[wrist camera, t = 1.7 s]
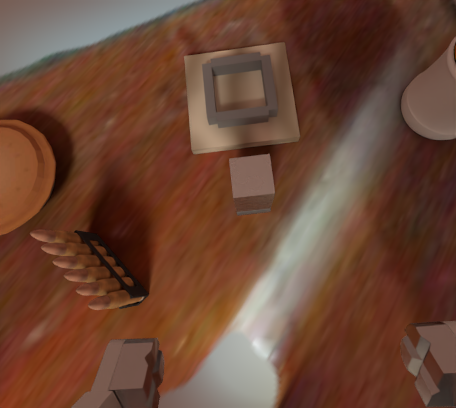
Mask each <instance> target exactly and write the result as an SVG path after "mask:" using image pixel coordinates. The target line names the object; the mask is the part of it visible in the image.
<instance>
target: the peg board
mask: <svg viewBox="0 0 456 408" xmlns="http://www.w3.org/2000/svg"><path fill="white" fill-rule="evenodd" d="M184 59H185V72H186V84H187V97H188V109H189V122H190V134H191V147H192V152H193V153H194V154H200V153H208V152H216V151H224V150H232V149H240V148H248V147H256V146H264V145H273V144H281V143H289V142H297V141H299V138H300V133H299V127H298V120H297V114H296V108H295V102H294V96H293V90H292V83H291V77H290V71H289V65H288V59H287V53H286V46H285V42H282V43H275V44H268V45H260V46H253V47H246V48H239V49H232V50H225V51H218V52H211V53H204V54H196V55H189V56H184Z"/></svg>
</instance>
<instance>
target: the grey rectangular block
mask: <svg viewBox="0 0 456 408" xmlns="http://www.w3.org/2000/svg"><path fill="white" fill-rule="evenodd" d="M229 162H230V171H231V181H232V190H233V199H234V203H235V206H236V211H237V215H238V216H240V215H249V214H257V213H266V212H270V210H271V205H272V202H273V199H274V195H275V189H274V181H273V174H272V167H271V160H270V154H264V155H256V156H248V157H240V158H232V159H229Z"/></svg>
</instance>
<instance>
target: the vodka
mask: <svg viewBox="0 0 456 408" xmlns="http://www.w3.org/2000/svg"><path fill="white" fill-rule="evenodd" d="M401 112H402V115H403V118H404V120H405V122H406V123H407V125H408V126H409V127H410V128H411V129H412V130H413V131H415V132H416V133H417V134H419V135H421V136H423V137H426V138H429V139H433V140H450V139H454V138H456V36H455V37H454V39H453V40H452V41H451V43H450V45H449V47H448V48H447V49H446V51H445V52H444V53H443V54H442V55H441V56H440V57H439V58H438V59H437V60H436V61H435V62H434V63H433V64H432V65H431V66H430V67H429V68H428V69H426V70H425V71H424V72H422V73H420V74H419V75H418V76H416V77H415V78H414V79H413V80H412V81H411V83H410V84H409V85H408V86H407V87H406V89H405V91H404V93H403V95H402V99H401Z"/></svg>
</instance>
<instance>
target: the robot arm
mask: <svg viewBox="0 0 456 408" xmlns="http://www.w3.org/2000/svg"><path fill="white" fill-rule="evenodd" d="M405 332H406V333H407V336H406V337H404V338H403V339H402V341H401V344H400V350H401V356H402V359H403V362H404V364H405V366H406V368H407V370H408V371H410V372H411V373H412V374H413V375H415V376H416V379H415V386H416V388H417V390H418V392H419V394H420V395H421V397H422V399H423V401H424V403H425V405H426V407H444V406H456V321H445V322H440V321H438V322H424V323H411V324H408V325H407V326H406V329H405ZM158 349H159V341H158V339H157V338H142V339H118V340H111V341H110V342H109V344H108V345H107V348H106V350H105V353H104V356H103V359H102V361H101V364H100V367H99V370H98V372H97V375H96V378H95V381H94V383H93V386H92V389H91V392H86V393H85V394H84V395H83V396H82V397H81V398H80V399H79V400H78V401H77V402H76V403H75V404H74V405H73V406H72V407H71V408H158V404H159V398H160V395H159V392H158V390H157V388H158V387H159V385H160V384H161V383H162V381H163V375H164V357H163V353H162V352H161V351H160V350H158Z"/></svg>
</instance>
